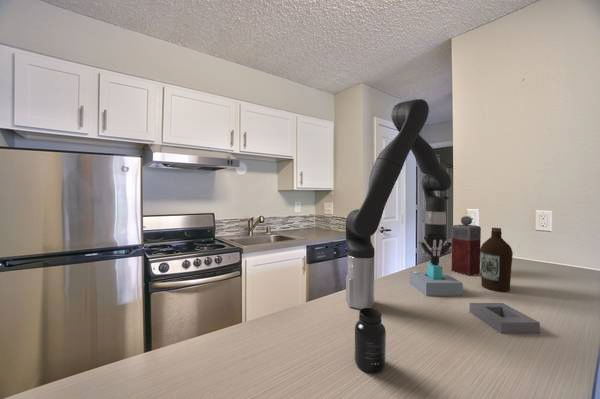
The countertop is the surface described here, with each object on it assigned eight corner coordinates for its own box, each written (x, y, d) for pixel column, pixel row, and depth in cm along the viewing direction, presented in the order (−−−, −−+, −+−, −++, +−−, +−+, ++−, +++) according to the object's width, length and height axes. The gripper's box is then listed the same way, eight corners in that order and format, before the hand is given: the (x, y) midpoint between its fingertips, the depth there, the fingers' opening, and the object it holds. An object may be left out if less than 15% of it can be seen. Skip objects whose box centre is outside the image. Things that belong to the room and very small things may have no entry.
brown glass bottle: (489, 282, 114) (490, 226, 113) (517, 290, 104) (519, 229, 103) (473, 285, 110) (475, 227, 109) (501, 294, 100) (502, 230, 99)
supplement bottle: (350, 355, 62) (351, 305, 62) (378, 353, 62) (378, 304, 62) (359, 375, 55) (360, 319, 55) (390, 373, 55) (391, 318, 55)
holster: (500, 333, 72) (501, 322, 72) (469, 311, 85) (469, 302, 85) (539, 333, 72) (539, 322, 72) (502, 311, 85) (502, 302, 85)
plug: (433, 291, 103) (433, 266, 103) (426, 286, 108) (427, 263, 108) (441, 291, 103) (442, 266, 103) (435, 286, 108) (435, 263, 108)
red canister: (482, 272, 127) (484, 216, 127) (469, 276, 122) (470, 217, 122) (464, 268, 135) (465, 215, 135) (451, 271, 130) (452, 215, 130)
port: (426, 295, 98) (426, 281, 98) (409, 283, 112) (410, 270, 112) (462, 295, 98) (462, 281, 98) (441, 283, 112) (441, 270, 112)
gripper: (423, 223, 101) (423, 267, 101) (457, 223, 101) (456, 267, 101) (415, 221, 108) (414, 262, 109) (446, 221, 109) (445, 262, 109)
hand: (434, 264), depth 105 cm, fingers closed
